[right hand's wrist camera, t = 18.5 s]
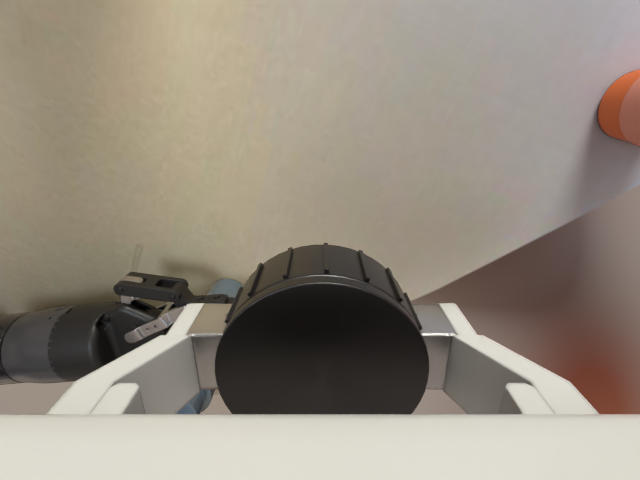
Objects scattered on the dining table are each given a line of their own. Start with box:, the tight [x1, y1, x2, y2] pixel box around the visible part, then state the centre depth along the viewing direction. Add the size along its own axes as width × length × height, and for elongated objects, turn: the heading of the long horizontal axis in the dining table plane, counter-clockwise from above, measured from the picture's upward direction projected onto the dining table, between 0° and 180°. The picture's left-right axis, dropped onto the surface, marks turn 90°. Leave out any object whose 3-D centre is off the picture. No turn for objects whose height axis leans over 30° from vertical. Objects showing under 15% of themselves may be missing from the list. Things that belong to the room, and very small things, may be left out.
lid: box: [215, 243, 429, 414], centre depth 9 cm, size 5×5×2 cm
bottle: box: [176, 279, 244, 414], centre depth 33 cm, size 5×5×17 cm
